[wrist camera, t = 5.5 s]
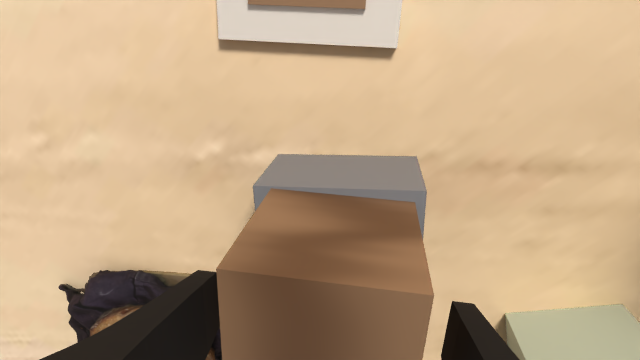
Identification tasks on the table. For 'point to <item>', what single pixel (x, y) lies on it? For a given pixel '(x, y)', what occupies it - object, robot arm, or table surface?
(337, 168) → the base block
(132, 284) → the two-tone domed part
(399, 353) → the walnut block
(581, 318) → the sage block
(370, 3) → the tile
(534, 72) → the table surface
